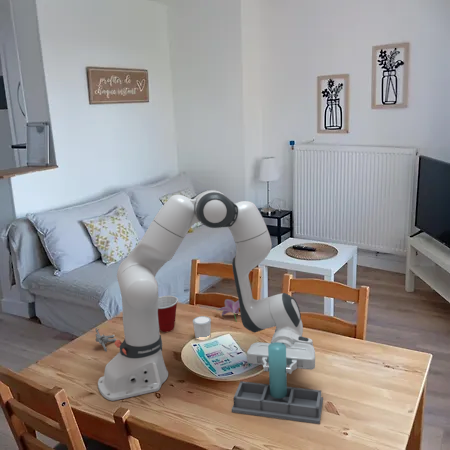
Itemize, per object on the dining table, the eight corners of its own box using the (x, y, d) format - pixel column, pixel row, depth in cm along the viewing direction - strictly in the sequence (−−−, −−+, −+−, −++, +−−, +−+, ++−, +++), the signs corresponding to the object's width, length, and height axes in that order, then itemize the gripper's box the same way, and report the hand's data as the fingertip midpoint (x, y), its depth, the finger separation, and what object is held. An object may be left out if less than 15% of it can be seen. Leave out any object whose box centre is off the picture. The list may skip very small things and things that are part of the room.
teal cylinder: (276, 400, 140) (274, 353, 136) (266, 391, 144) (264, 345, 140) (290, 394, 142) (289, 347, 138) (280, 386, 147) (279, 340, 142)
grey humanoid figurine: (124, 345, 184) (106, 347, 176) (114, 354, 186) (96, 356, 178) (113, 322, 188) (95, 324, 181) (104, 332, 190) (85, 333, 183)
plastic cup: (150, 325, 198) (147, 297, 195) (176, 320, 201) (174, 293, 198) (155, 337, 188) (152, 308, 185) (182, 332, 191) (180, 303, 188)
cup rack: (231, 412, 143) (231, 400, 141) (240, 390, 153) (240, 378, 152) (319, 424, 136) (319, 411, 135) (322, 400, 146) (323, 388, 145)
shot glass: (209, 341, 183) (208, 324, 181) (191, 340, 184) (190, 323, 183) (213, 332, 190) (212, 316, 188) (196, 332, 191) (195, 315, 189)
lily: (253, 317, 203) (247, 294, 205) (247, 319, 192) (240, 295, 194) (226, 325, 206) (220, 302, 208) (218, 327, 194) (212, 303, 196)
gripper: (251, 334, 155) (241, 357, 142) (317, 339, 150) (312, 364, 137) (252, 352, 157) (242, 376, 144) (317, 358, 151) (313, 384, 138)
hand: (277, 370), depth 140 cm, fingers closed on teal cylinder, 5 cm apart
